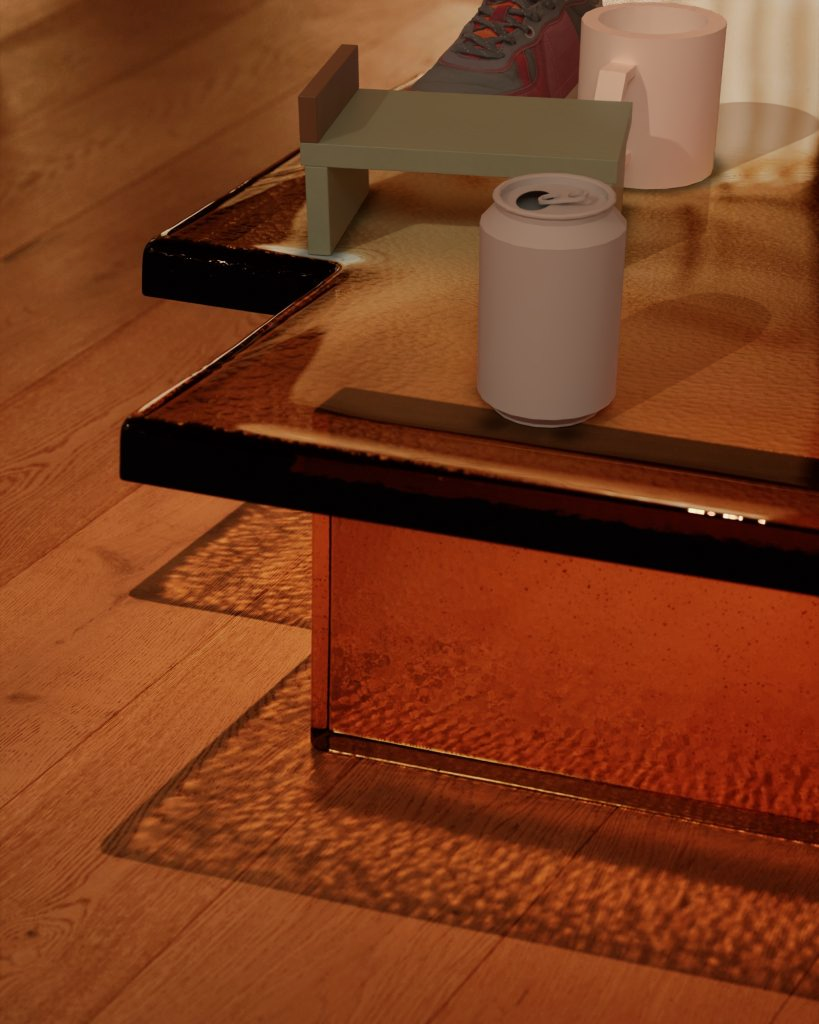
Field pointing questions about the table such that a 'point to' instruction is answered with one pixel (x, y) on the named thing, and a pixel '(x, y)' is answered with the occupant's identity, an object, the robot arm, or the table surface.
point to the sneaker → (514, 51)
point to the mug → (658, 85)
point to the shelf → (441, 140)
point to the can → (550, 299)
